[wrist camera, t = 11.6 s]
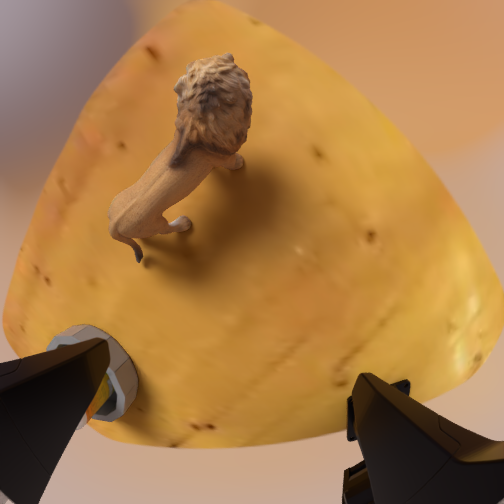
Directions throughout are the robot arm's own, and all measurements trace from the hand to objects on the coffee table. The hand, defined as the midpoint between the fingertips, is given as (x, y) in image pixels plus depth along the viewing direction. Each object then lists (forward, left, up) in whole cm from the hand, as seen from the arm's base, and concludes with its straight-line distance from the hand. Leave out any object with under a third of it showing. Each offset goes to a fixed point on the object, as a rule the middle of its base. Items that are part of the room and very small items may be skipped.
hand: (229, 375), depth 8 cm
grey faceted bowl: (-6, +17, -12) cm, 22 cm away
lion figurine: (+9, +3, -13) cm, 16 cm away
